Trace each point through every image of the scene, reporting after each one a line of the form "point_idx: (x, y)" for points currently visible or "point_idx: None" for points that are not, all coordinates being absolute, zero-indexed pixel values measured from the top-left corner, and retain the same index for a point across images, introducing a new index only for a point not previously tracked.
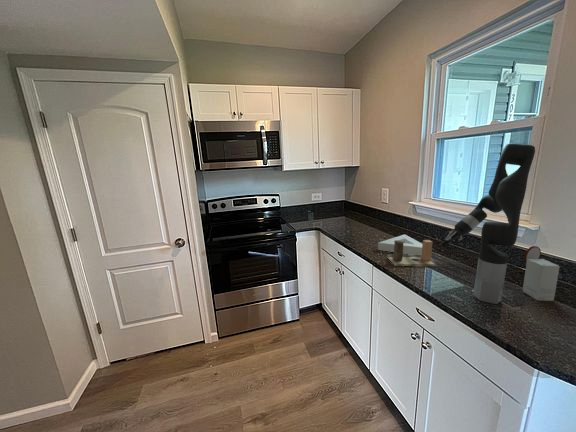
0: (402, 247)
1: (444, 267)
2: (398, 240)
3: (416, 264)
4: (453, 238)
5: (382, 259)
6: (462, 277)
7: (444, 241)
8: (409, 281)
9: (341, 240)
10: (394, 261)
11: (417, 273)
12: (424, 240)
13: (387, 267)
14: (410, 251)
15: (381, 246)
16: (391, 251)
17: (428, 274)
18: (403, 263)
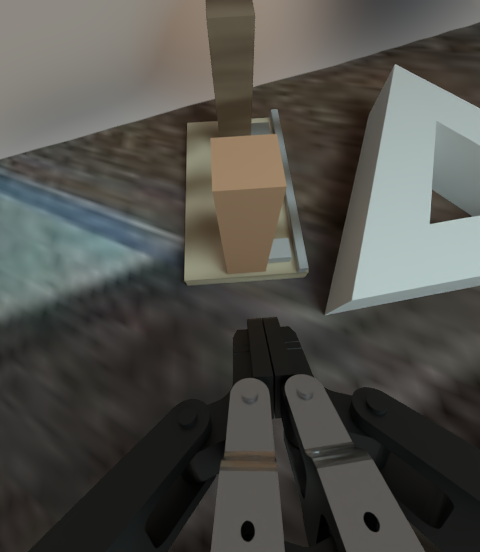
0: (212, 66)
1: (173, 332)
2: (250, 5)
3: (186, 198)
4: (139, 496)
5: (264, 113)
6: (40, 366)
7: (267, 354)
8: (61, 147)
9: (465, 28)
10: (217, 128)
11: (119, 189)
12: (264, 141)
13: (184, 114)
14: (353, 211)
15: (380, 97)
16: (362, 151)
17: (103, 224)
18: (194, 151)
